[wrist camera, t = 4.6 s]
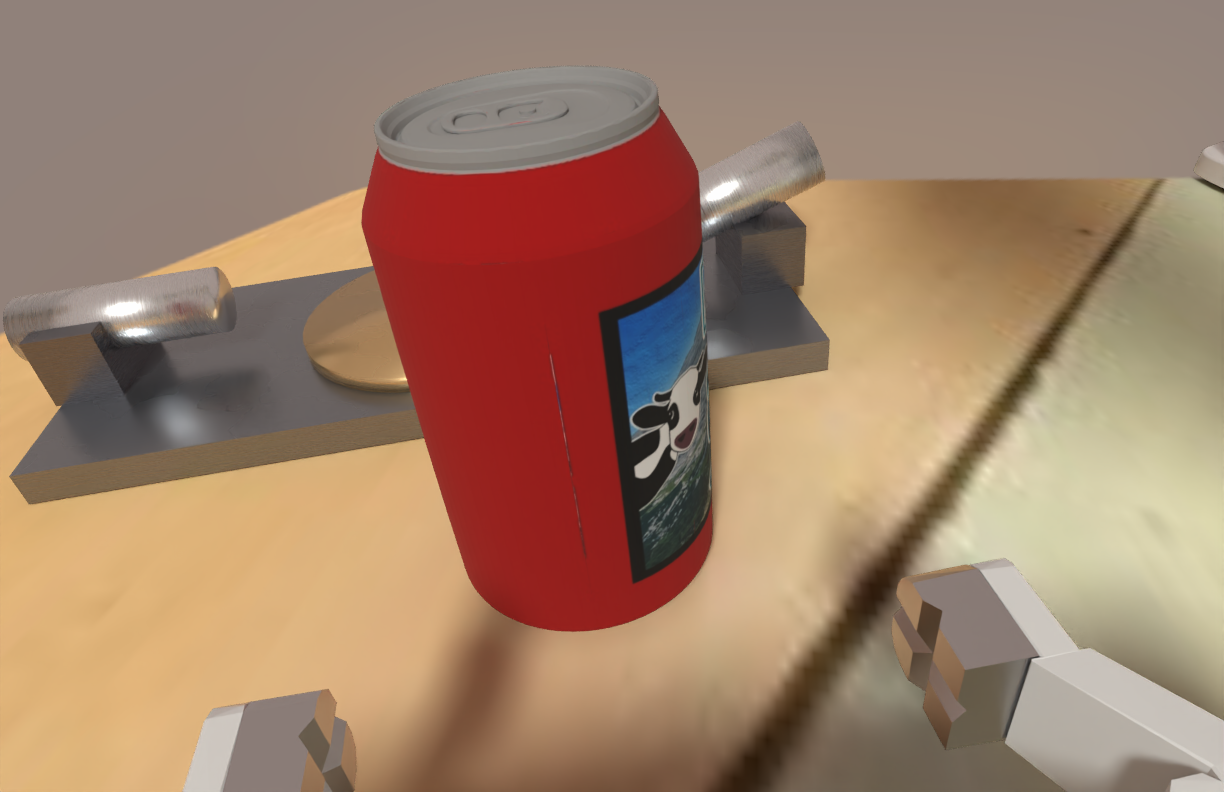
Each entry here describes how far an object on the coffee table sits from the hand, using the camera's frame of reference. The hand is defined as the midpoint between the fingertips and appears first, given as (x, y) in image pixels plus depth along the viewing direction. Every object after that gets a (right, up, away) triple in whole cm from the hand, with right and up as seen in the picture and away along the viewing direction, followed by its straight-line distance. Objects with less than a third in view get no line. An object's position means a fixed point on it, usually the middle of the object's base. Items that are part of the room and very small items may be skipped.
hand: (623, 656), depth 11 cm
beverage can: (-1, -1, +11) cm, 11 cm away
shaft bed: (-7, +6, +20) cm, 22 cm away
